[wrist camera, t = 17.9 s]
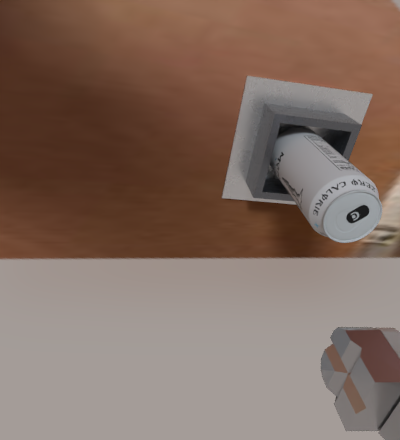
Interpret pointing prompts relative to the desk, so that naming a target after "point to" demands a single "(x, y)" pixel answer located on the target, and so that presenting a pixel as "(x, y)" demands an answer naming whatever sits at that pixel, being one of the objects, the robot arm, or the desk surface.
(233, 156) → the socket
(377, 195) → the energy drink can
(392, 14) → the desk surface
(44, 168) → the desk surface
